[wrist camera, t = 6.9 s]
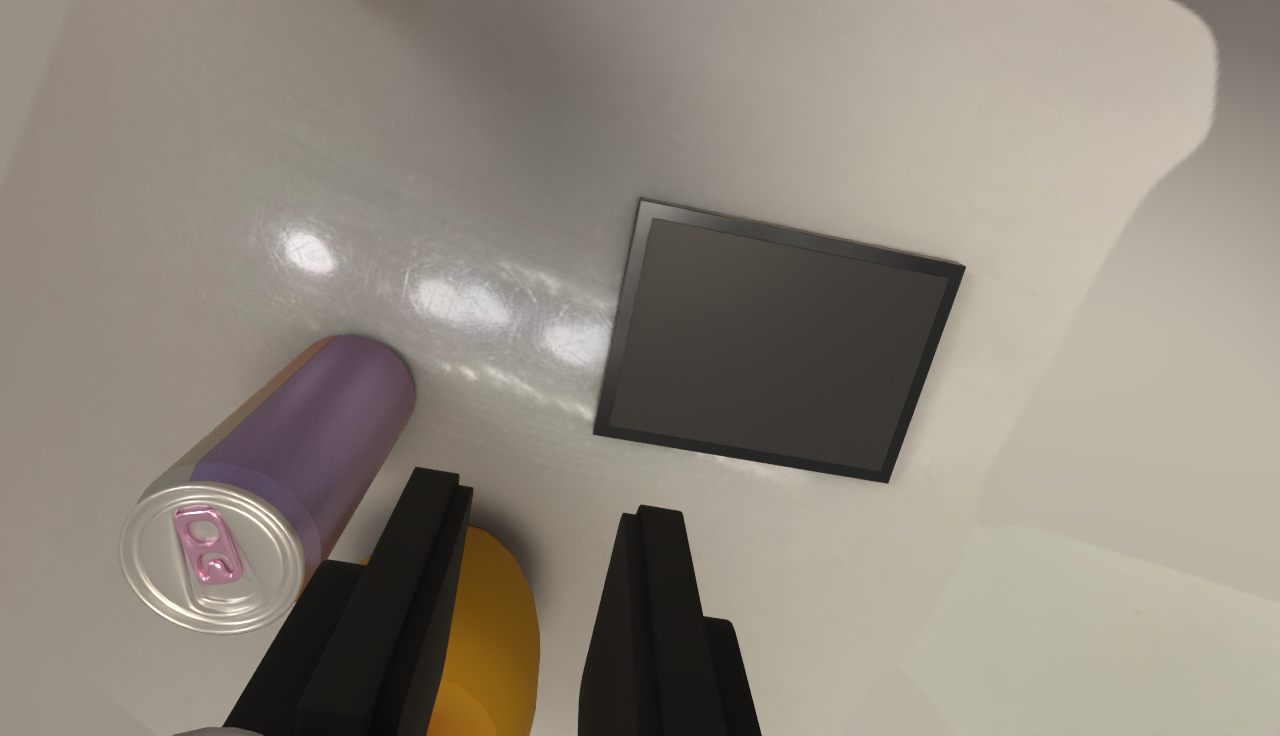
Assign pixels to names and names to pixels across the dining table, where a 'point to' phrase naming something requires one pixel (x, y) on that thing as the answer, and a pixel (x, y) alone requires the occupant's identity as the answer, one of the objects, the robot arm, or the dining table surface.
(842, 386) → the tablet
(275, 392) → the beverage can
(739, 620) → the dining table surface
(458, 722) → the apple
